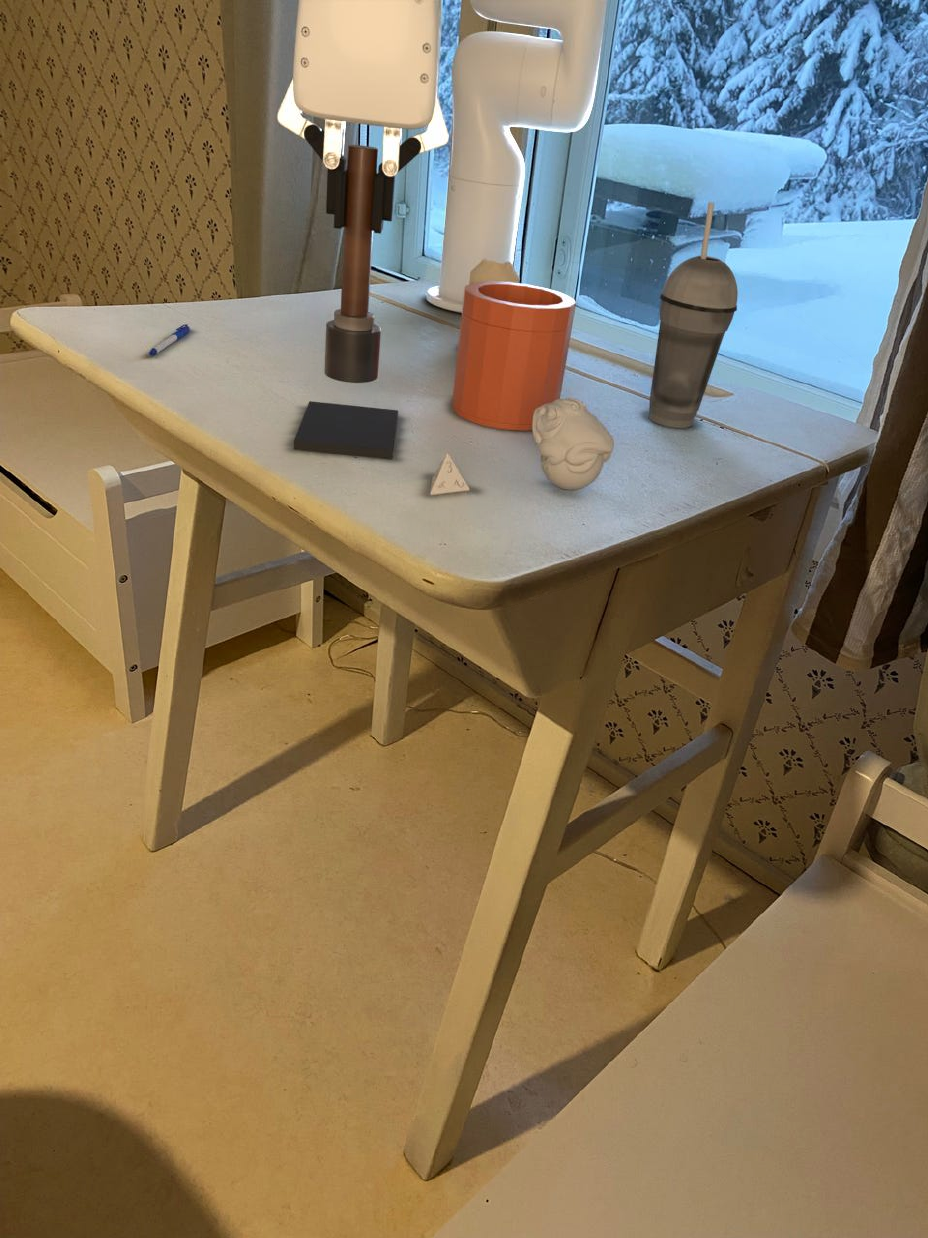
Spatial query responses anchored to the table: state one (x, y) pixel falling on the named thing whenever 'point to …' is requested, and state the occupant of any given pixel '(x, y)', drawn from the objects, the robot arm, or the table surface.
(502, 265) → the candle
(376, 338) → the brush
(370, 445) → the mat
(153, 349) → the blue and white marker
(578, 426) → the frog figurine
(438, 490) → the tetrahedral die
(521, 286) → the jar
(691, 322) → the beverage cup
